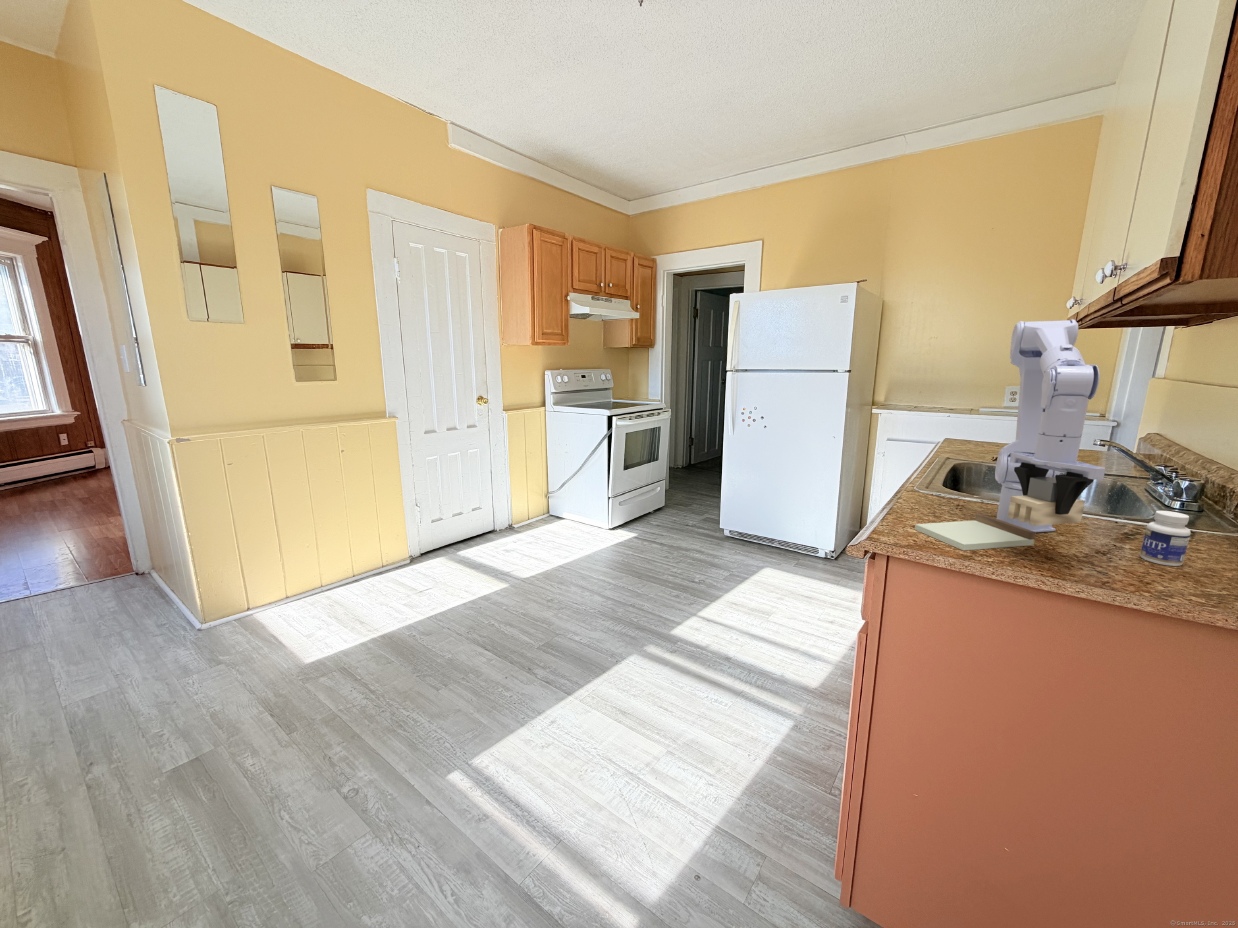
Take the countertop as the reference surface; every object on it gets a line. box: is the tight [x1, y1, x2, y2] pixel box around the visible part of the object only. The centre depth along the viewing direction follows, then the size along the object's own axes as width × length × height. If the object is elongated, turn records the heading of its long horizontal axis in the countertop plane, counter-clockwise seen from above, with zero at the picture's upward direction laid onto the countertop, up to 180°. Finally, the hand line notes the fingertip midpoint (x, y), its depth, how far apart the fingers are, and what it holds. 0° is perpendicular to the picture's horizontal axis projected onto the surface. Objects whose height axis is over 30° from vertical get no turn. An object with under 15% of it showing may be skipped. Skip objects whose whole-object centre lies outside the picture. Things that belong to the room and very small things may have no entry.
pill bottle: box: [1139, 510, 1191, 567], centre depth 87 cm, size 5×5×9 cm
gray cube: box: [1027, 477, 1057, 502], centre depth 88 cm, size 4×4×4 cm
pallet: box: [1008, 495, 1086, 526], centre depth 89 cm, size 10×5×4 cm, turn 101°
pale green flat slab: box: [914, 513, 1037, 551], centre depth 99 cm, size 16×12×3 cm
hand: (1045, 509), depth 89 cm, fingers closed on pallet, 5 cm apart
